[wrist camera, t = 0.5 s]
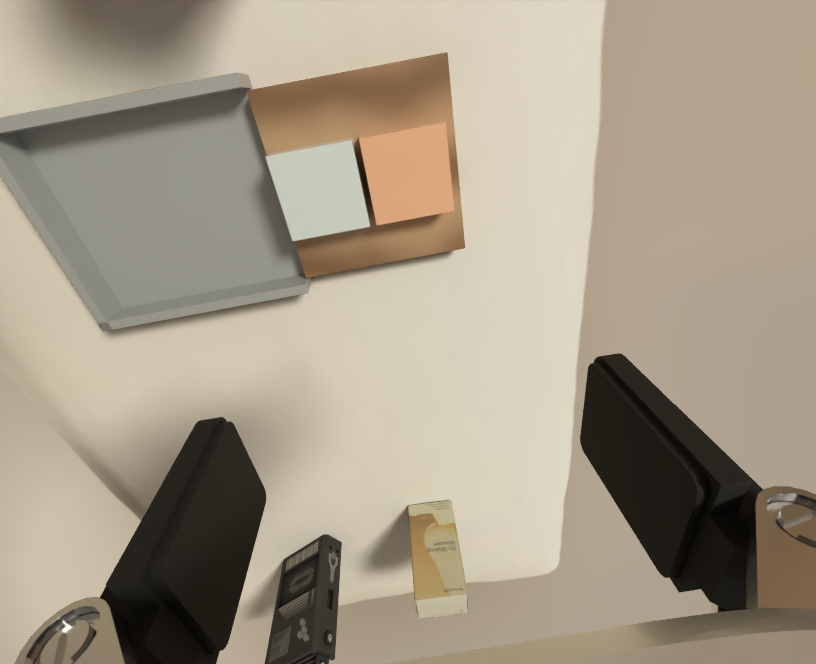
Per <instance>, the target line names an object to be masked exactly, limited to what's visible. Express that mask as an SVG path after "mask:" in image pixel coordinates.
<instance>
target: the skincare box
mask: <svg viewBox="0 0 816 664" xmlns="http://www.w3.org/2000/svg"><path fill="white" fill-rule="evenodd" d="M408 514H409V528H410V542H411V556H412V570H413V583H414V598H415V610H416V616H417V618H426V617H434V616H447V615H450V614H459V613H468V593H467V587H466V581H465V576H464V570H463V564H462V558H461V553H460V547H459V542H458V536H457V530H456V525H455V519H454V513H453V508H452V502H451V501H442V502H433V503H424V504H416V505H409V506H408Z"/></svg>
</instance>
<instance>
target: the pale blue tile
mask: <svg viewBox="0 0 816 664" xmlns="http://www.w3.org/2000/svg"><path fill="white" fill-rule="evenodd" d="M265 157H266V160H267V164H268V167H269V170H270V173H271V176H272V179H273V182H274V185H275V188H276V191H277V194H278V198H279V201H280V204H281V207H282V210H283V213H284V216H285V219H286V222H287V225H288V228H289V232H290V235H291V238H292V241H297V240H302V239H308V238H313V237H318V236H324V235H329V234H334V233H340V232H345V231H350V230H355V229H361V228H366V227H370V216H369V211H368V206H367V201H366V197H365V192H364V187H363V183H362V178H361V173H360V168H359V164H358V159H357V154H356V150H355V145H354V140H353V137H352V138H347V139H342V140H336V141H331V142H326V143H320V144H315V145H310V146H305V147H299V148H294V149H289V150H284V151H278V152H273V153H271V154H269V155H267V156H265Z"/></svg>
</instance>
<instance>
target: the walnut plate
mask: <svg viewBox="0 0 816 664" xmlns="http://www.w3.org/2000/svg"><path fill="white" fill-rule="evenodd" d="M246 92H247V95H248V99H249V102H250V105H251V108H252V111H253V114H254V117H255V120H256V123H257V127H258V130H259V133H260V136H261V139H262V142H263V145H264V148H265V152H266V155H269V154H271V153H273V152H278V151H284V150H289V149H294V148H299V147H305V146H310V145H315V144H320V143H326V142H331V141H336V140H342V139H347V138H352V137H353V140H354V145H355V150H356V154H357V159H358V164H359V168H360V173H361V178H362V183H363V187H364V192H365V197H366V201H367V206H368V211H369V216H370V227H366V228H361V229H355V230H350V231H345V232H340V233H334V234H329V235H324V236H318V237H313V238H308V239H302V240H297V241H294V242H295V245H296V248H297V251H298V254H299V257H300V261H301V264H302V267H303V270H304V273H305V276H306V278H308V277H314V276H319V275H325V274H330V273H335V272H341V271H346V270H351V269H357V268H362V267H367V266H373V265H378V264H383V263H389V262H394V261H399V260H405V259H410V258H415V257H421V256H426V255H431V254H437V253H442V252H447V251H453V250H458V249H463V248H465V242H464V231H463V220H462V209H461V198H460V187H459V176H458V165H457V154H456V143H455V132H454V121H453V110H452V99H451V87H450V76H449V65H448V54H447V53H442V54H436V55H431V56H426V57H421V58H415V59H410V60H405V61H400V62H394V63H389V64H384V65H379V66H374V67H368V68H363V69H358V70H353V71H347V72H342V73H337V74H332V75H326V76H321V77H316V78H311V79H305V80H300V81H295V82H290V83H285V84H279V85H274V86H269V87H264V88H258V89H253V90H248V91H246ZM436 121H442V122H446V131H447V141H448V151H449V161H450V171H451V181H452V191H453V201H454V211H451V212H446V213H441V214H435V215H430V216H425V217H419V218H414V219H409V220H403V221H398V222H393V223H387V224H382V225H376V220H375V215H374V210H373V205H372V200H371V195H370V190H369V186H368V181H367V176H366V171H365V166H364V161H363V156H362V151H361V147H360V142H359V136H363V135H368V134H373V133H378V132H384V131H389V130H394V129H399V128H405V127H410V126H415V125H421V124H426V123H431V122H436Z"/></svg>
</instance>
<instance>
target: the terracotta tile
mask: <svg viewBox="0 0 816 664" xmlns="http://www.w3.org/2000/svg"><path fill="white" fill-rule="evenodd" d="M359 142H360V147H361V151H362V156H363V161H364V166H365V171H366V176H367V181H368V186H369V190H370V195H371V200H372V205H373V210H374V215H375V220H376V225H382V224H387V223H393V222H398V221H403V220H409V219H414V218H419V217H425V216H430V215H435V214H441V213H446V212H451V211H454V201H453V191H452V181H451V171H450V161H449V151H448V141H447V131H446V122H442V121H436V122H431V123H426V124H421V125H415V126H410V127H405V128H399V129H394V130H389V131H384V132H378V133H373V134H368V135H363V136H359Z"/></svg>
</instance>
